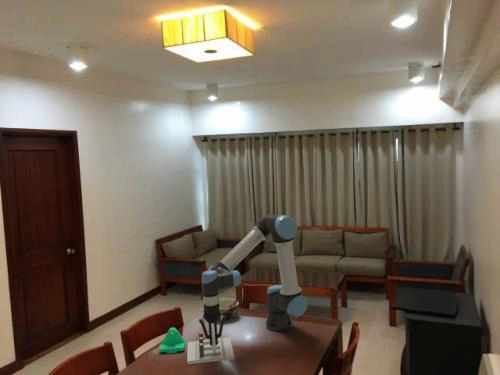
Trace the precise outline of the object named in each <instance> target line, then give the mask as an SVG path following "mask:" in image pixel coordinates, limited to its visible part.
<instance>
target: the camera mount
mask: <svg viewBox="0 0 500 375" xmlns="http://www.w3.org/2000/svg"><path fill="white" fill-rule="evenodd" d="M185 348H186V340H185V339H184V338H183V336H182V335H181V333H180V332H179V330H177V328H176V327H170V328H169V329H168V331H167V333H166V335H165V336H164V338H163V340H162V341H161V344H160V346H159V353H166V354H167V355H168V354H177V353H178V352H182V351H185Z"/></svg>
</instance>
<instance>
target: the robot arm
mask: <svg viewBox="0 0 500 375" xmlns="http://www.w3.org/2000/svg"><path fill="white" fill-rule="evenodd" d="M296 233H298V225H297V222H296V220H295V219H294V218H292V217H291V216H288V215H285V214H284V215H283V214H275V213H270V214H267V215H265V216H263V217H262V218H261V219H259V220H258V221H257V222H256V223H255V224H254V225H253V226H252V227H251V231H250V232H248V233H247V235H246V236H245V237H243V239H241V240H240V242H239V243H238V244H236V245H235V246H234V247H233V248H232V249H231V250H230V251H229V252H228V253H227V254H226V255H225V256H224V257H223V258H222V259H221V260H220V261H219V262H218V263H217V264H216V265H212V266H211V265H210V267H208V270H205V271H203V272H202V273H201V287H202V288H201V290H202V304H203V315H202V317H200V318H199V319H198V322H199V324H200V325H201V328H202V330H203V331H202V332H203V335H204V336H205V340H210V346H213V353H216V345H218V339H220V338H221V337H222V333H223V328H224V323H225V321H226V320H227V319H226V318H225V316H223V315H221V313H220V308H219V299H220V296H219V295H220V294H219V290H224V289H229V288H235V287H238V286H240V285H241V283H242V276H241V274H240V272H239V271H238V270H234V269H235V268H236V267H237V266H238V265H239V263H241V262H242V261H243V260H244V259H245V258H246V257H247V256H248V254H250V253H251V251H253V249H254V248H255V247H257V245H259V243H260V242H261V241H265V240H266V239H268V238H269V237H271V239H272V243H273V244H274V245H275V248H276V254H277V261H278V269H279V275H280V283H281V284H276V285H271V286H269V287H267V291H266V292H267V293H266V295H267V306H268V307H267V317H266V321H265V327H266V329H267V330H269V331H271V332H285V331H286V332H287V331H289V330H291V329H292V328H293V326H294V323H293V319H292V317H293V318H299V317H301V316H302V315H304V314H305V313H306V311H307V308H308V300H307V298H306V297H305V296H303V292H302V287H300V286H299V282H298V276H297V275H298V274H297V269H296V268H297V267H296V263H295V254H294V247H293V246H294V245H293V242H294V241H295V237H296V235H297V234H296ZM220 317H221V318H220ZM219 320H220V323H219V329H218V325H217V324H218V321H219ZM205 322H206V323H208V330H207V327H206V325H205ZM212 324H213V328H214V336H213V332H212V331H213V330H212V329H213V328H212Z"/></svg>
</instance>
